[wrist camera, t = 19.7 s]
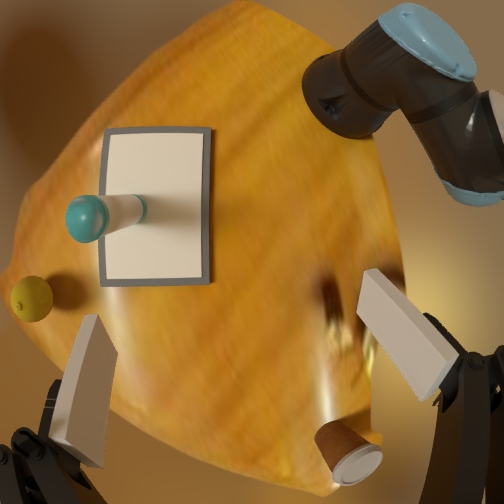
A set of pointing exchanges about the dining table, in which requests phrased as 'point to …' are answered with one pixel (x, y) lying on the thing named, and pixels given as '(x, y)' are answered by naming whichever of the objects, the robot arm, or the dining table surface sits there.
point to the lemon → (32, 299)
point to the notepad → (158, 206)
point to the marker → (103, 215)
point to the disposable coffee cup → (347, 453)
